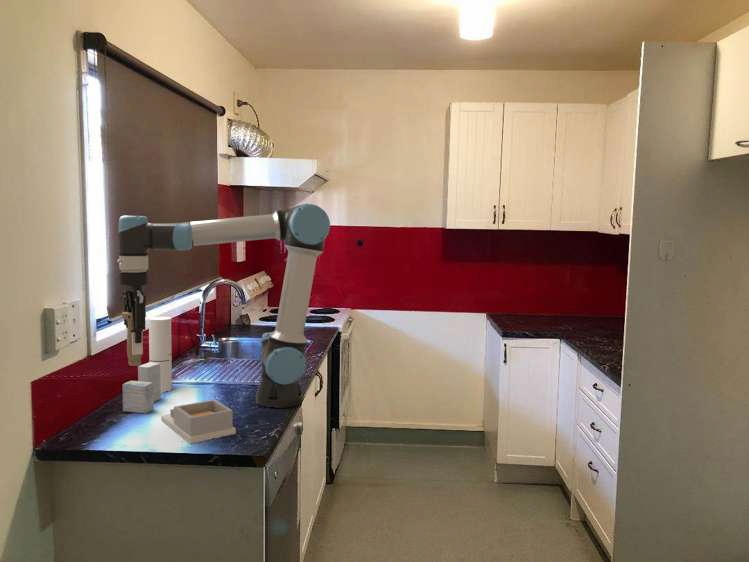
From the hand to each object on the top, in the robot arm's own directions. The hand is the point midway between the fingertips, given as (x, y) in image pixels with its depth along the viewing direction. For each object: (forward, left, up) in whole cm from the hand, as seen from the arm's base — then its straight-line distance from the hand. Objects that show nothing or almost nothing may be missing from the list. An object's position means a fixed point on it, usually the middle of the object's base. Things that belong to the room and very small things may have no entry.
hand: (134, 352), depth 167 cm
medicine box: (-4, -11, -21) cm, 24 cm away
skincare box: (-10, -19, -21) cm, 30 cm away
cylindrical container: (-17, -29, -21) cm, 40 cm away
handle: (0, 0, -4) cm, 4 cm away
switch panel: (-13, +13, -21) cm, 28 cm away
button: (-13, +17, -19) cm, 29 cm away
